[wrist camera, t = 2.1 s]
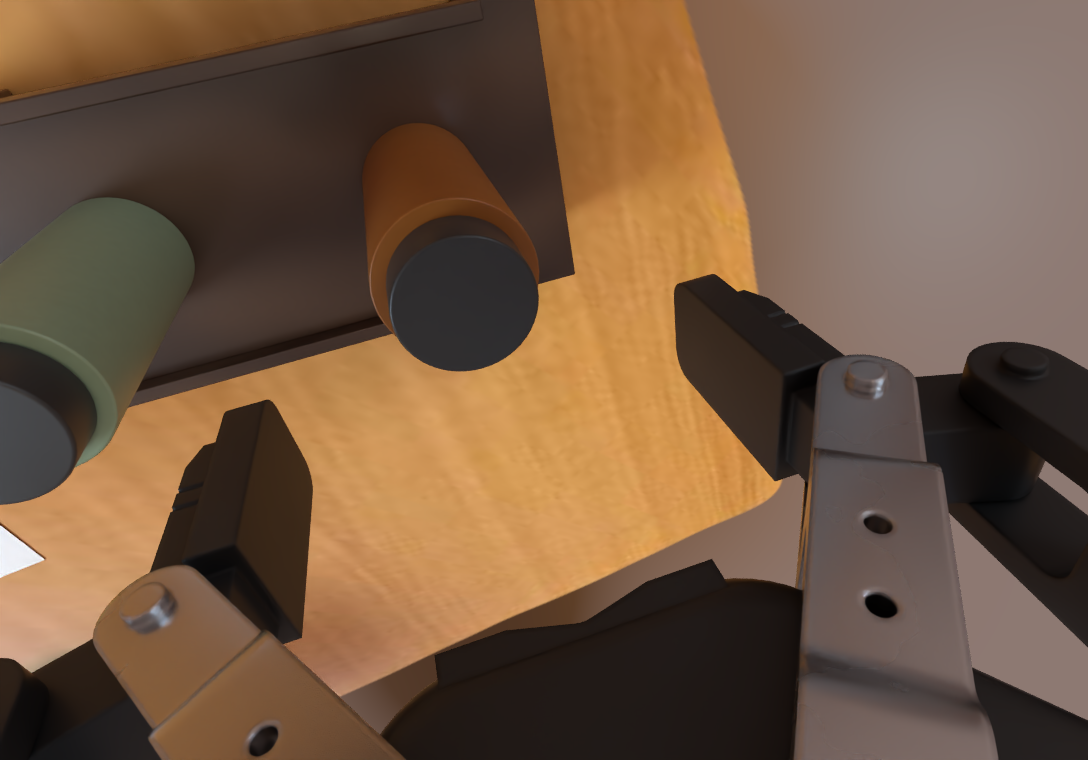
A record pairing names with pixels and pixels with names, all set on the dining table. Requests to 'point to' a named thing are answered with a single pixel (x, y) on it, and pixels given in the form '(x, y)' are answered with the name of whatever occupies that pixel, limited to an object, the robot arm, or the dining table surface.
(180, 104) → the spice rack
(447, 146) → the amber bottle
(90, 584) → the dining table surface
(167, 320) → the sage bottle
